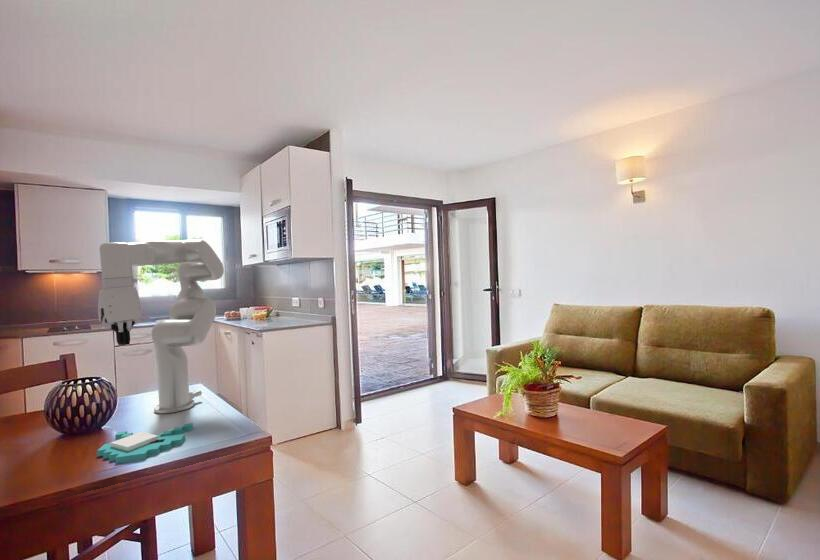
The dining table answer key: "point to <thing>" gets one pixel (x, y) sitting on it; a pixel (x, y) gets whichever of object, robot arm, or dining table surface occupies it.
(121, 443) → the tile
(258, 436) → the dining table surface
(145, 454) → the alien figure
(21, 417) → the dining table surface
